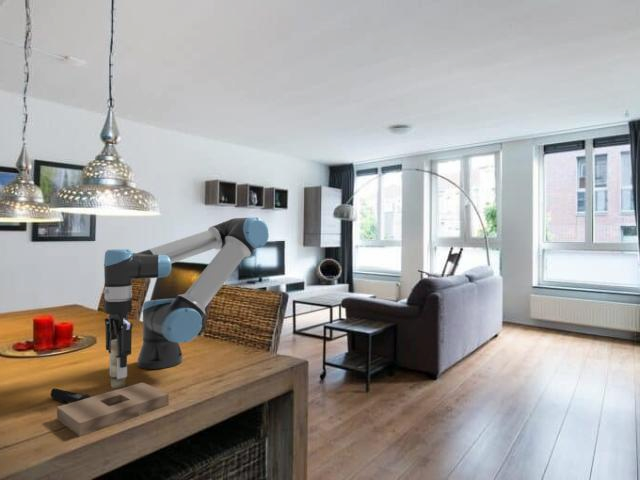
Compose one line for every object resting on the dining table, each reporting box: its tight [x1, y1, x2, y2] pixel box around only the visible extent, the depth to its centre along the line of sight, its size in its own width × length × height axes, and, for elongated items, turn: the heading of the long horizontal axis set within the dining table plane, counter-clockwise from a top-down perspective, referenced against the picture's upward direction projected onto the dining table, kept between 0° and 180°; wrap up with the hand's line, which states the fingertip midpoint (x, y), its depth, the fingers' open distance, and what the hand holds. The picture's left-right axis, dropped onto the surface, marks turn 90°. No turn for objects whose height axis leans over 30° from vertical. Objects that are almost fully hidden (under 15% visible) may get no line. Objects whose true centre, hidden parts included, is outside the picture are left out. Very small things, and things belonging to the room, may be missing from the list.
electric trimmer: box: [50, 387, 92, 404], centre depth 110 cm, size 4×16×3 cm, turn 65°
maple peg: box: [110, 339, 127, 389], centre depth 122 cm, size 4×4×14 cm
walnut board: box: [56, 382, 170, 437], centre depth 104 cm, size 22×14×3 cm, turn 141°
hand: (118, 375), depth 122 cm, fingers closed on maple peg, 4 cm apart
